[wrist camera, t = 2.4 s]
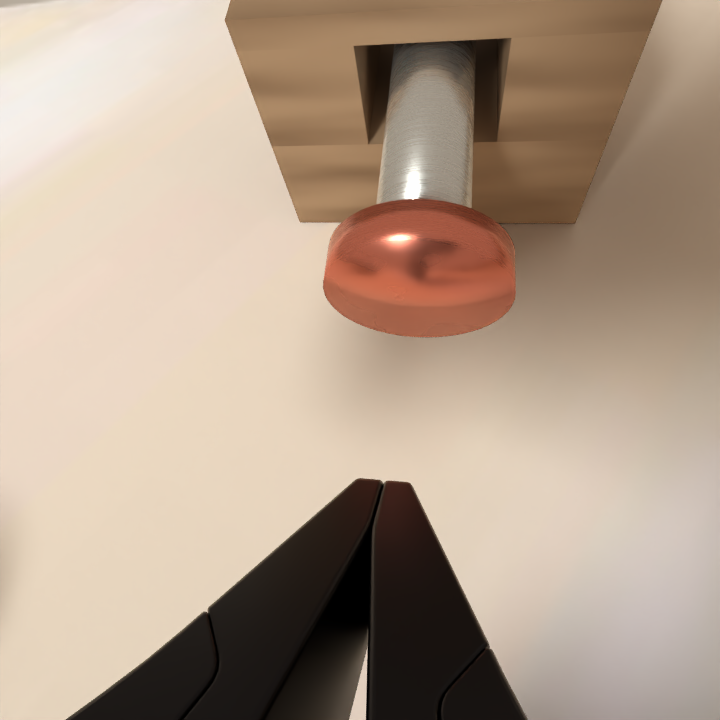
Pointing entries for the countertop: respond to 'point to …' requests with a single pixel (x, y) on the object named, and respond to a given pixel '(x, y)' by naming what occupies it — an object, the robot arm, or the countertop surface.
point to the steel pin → (424, 212)
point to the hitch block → (492, 93)
